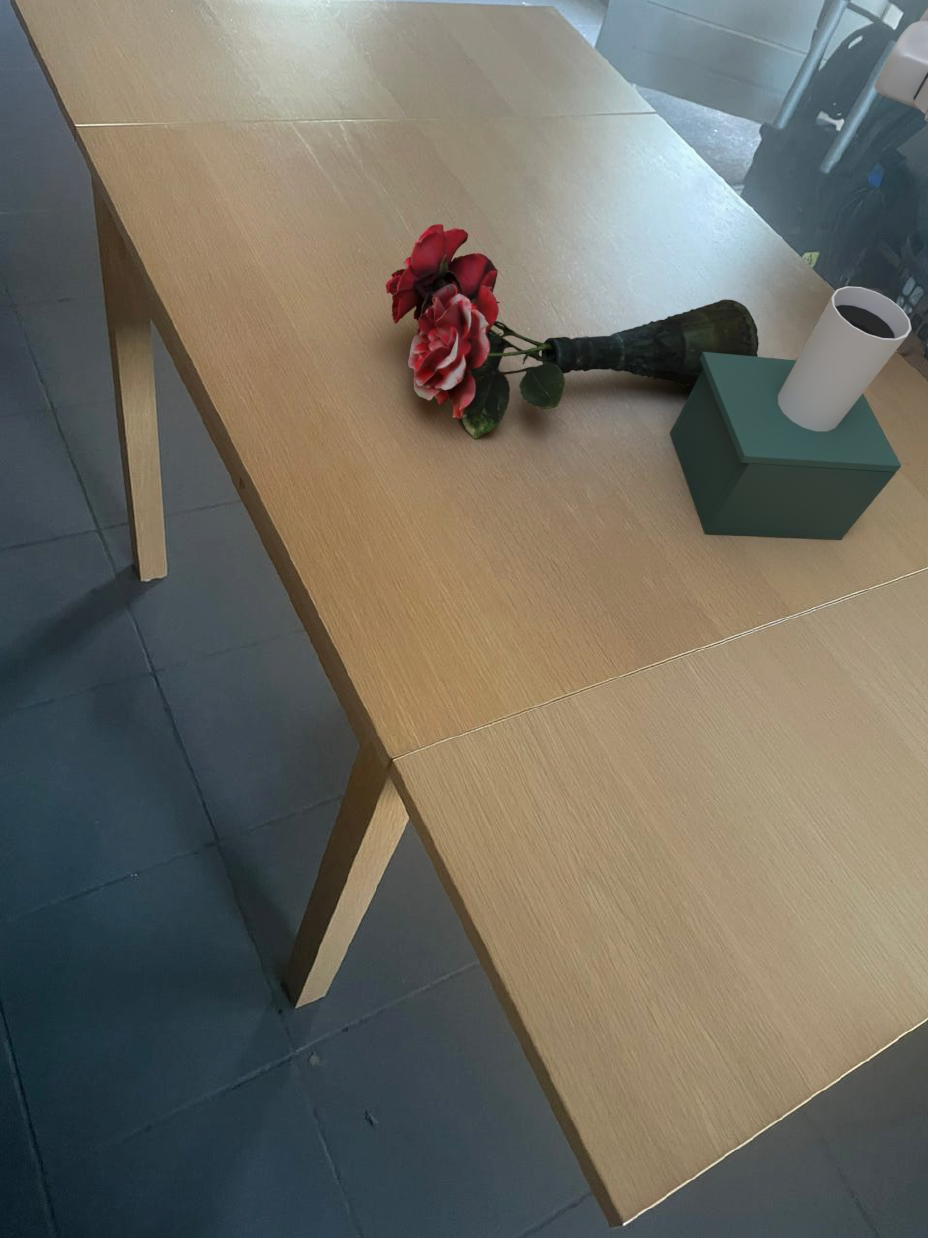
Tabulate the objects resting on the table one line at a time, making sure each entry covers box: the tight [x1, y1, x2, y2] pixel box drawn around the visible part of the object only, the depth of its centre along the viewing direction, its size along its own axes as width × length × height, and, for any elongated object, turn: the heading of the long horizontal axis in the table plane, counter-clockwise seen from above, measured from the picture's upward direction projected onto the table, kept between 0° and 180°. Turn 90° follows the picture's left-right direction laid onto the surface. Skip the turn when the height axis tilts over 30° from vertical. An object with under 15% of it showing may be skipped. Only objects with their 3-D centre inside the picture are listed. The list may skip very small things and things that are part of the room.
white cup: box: [778, 285, 912, 432], centre depth 76 cm, size 7×7×10 cm
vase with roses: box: [385, 223, 760, 439], centre depth 87 cm, size 16×18×35 cm
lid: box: [700, 352, 902, 473], centre depth 80 cm, size 15×13×1 cm
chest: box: [669, 368, 897, 541], centre depth 84 cm, size 14×13×9 cm
